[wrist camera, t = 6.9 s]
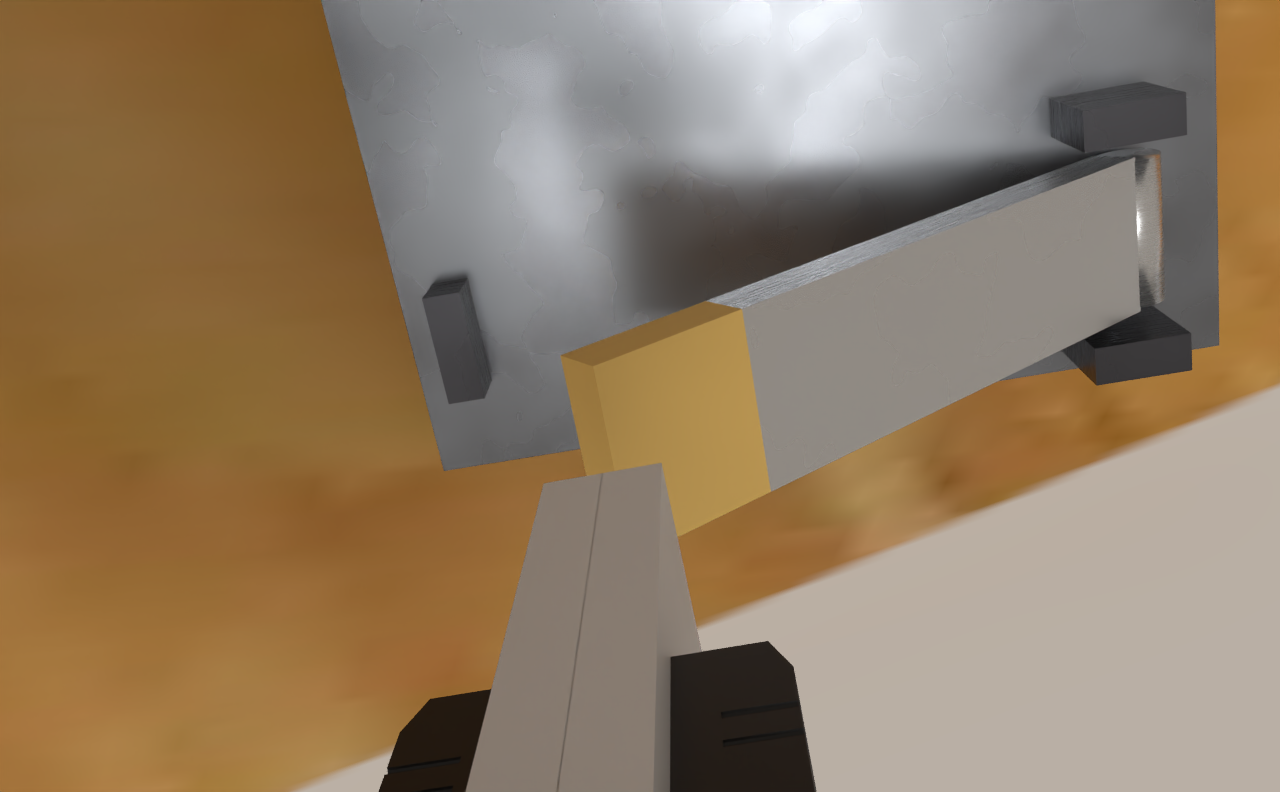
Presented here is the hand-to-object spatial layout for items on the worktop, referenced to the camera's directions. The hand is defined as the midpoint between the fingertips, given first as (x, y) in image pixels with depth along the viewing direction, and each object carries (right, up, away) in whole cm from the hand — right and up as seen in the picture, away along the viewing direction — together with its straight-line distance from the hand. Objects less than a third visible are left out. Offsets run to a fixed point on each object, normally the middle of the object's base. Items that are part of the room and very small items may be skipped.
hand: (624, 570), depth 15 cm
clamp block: (+4, +12, +19) cm, 23 cm away
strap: (+6, +4, +12) cm, 14 cm away
